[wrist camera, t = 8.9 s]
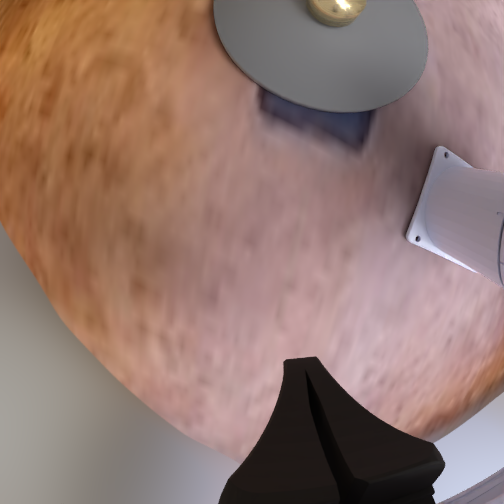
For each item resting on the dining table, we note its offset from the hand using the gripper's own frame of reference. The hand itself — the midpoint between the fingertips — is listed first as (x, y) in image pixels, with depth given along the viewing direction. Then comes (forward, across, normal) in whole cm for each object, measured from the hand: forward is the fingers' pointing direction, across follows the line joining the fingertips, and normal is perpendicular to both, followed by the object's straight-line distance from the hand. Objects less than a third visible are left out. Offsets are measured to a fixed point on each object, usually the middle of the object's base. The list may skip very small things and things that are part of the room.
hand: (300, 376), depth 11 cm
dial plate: (+10, -5, -20) cm, 23 cm away
